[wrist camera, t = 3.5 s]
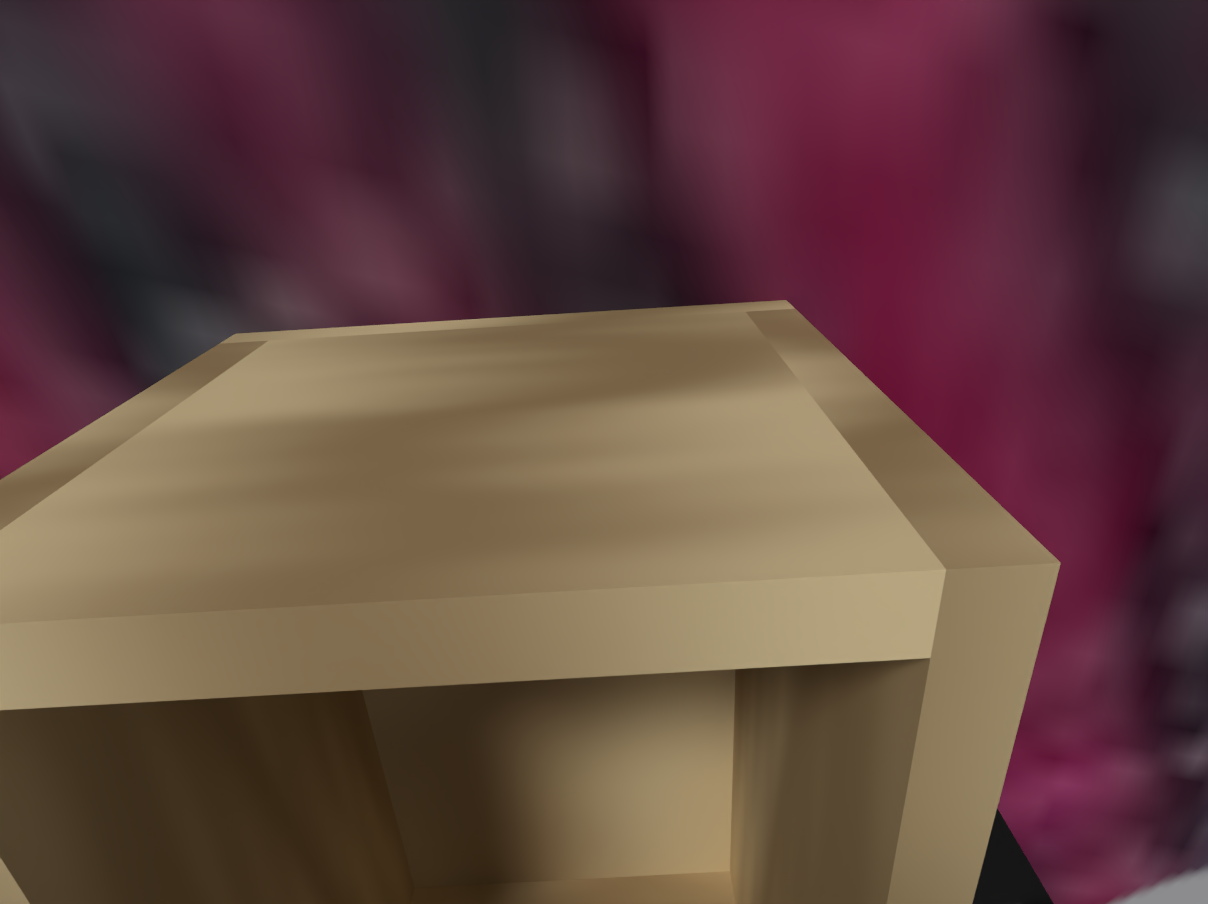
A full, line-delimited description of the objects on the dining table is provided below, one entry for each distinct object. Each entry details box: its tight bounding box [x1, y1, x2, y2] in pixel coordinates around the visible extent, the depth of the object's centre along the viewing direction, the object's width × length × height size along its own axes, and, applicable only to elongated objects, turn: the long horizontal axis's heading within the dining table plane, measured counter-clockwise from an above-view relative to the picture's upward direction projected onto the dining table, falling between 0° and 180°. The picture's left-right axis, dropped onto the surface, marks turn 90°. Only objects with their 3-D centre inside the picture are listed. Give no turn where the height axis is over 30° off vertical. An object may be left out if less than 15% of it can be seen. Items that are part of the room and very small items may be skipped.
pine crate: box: [0, 300, 1061, 904], centre depth 9 cm, size 7×11×6 cm, turn 3°
